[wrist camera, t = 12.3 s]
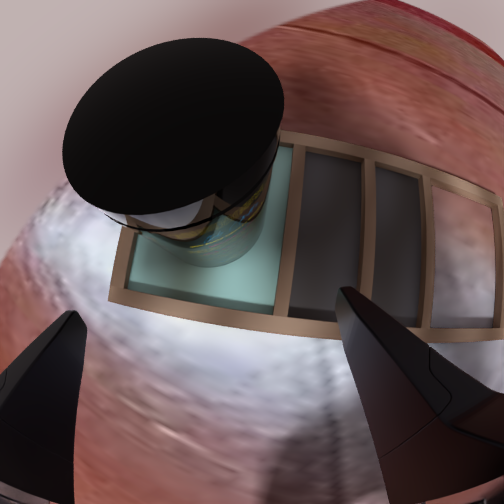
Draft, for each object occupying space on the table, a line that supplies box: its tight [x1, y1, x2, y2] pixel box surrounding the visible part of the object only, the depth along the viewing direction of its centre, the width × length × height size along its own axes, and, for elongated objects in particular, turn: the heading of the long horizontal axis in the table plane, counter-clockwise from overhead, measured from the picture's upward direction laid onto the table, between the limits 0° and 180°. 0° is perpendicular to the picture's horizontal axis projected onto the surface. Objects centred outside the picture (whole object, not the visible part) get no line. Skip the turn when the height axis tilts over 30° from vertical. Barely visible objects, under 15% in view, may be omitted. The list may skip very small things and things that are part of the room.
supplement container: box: [62, 38, 284, 268], centre depth 11 cm, size 7×7×10 cm
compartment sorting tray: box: [108, 130, 504, 343], centre depth 16 cm, size 31×13×1 cm, turn 82°
